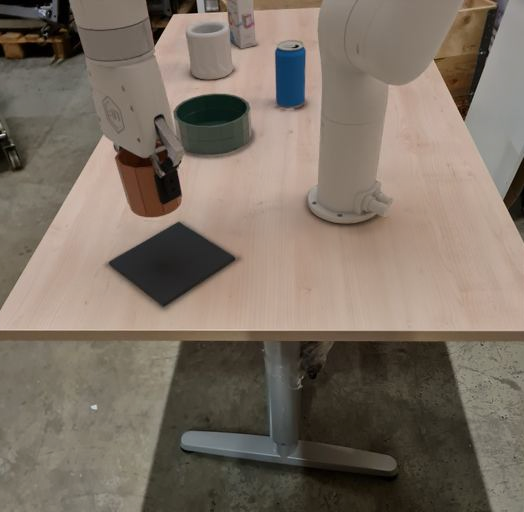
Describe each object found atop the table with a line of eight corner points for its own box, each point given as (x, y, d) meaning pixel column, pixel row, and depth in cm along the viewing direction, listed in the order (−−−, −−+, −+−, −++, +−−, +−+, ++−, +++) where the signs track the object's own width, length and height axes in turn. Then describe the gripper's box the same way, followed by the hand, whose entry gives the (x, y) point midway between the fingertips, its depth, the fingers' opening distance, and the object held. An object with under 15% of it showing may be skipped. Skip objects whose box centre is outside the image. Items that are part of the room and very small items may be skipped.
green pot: (266, 136, 100) (265, 106, 95) (211, 165, 93) (207, 135, 88) (218, 115, 107) (214, 87, 102) (164, 141, 100) (158, 112, 96)
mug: (239, 75, 121) (235, 29, 114) (198, 83, 119) (192, 37, 111) (222, 57, 130) (217, 14, 122) (183, 65, 127) (176, 21, 120)
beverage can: (302, 111, 106) (303, 50, 97) (273, 109, 107) (272, 49, 98) (306, 98, 110) (307, 39, 101) (279, 97, 112) (277, 38, 102)
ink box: (228, 40, 138) (224, -10, 129) (244, 36, 139) (241, -13, 130) (240, 49, 133) (236, -3, 124) (256, 45, 134) (254, -6, 125)
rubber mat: (235, 259, 74) (235, 256, 74) (163, 307, 68) (162, 304, 68) (179, 224, 81) (178, 221, 81) (109, 264, 75) (108, 261, 75)
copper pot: (193, 200, 66) (184, 152, 61) (149, 224, 63) (136, 175, 58) (161, 182, 70) (151, 134, 64) (118, 204, 66) (103, 156, 61)
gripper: (46, 32, 54) (94, 177, 67) (135, 69, 46) (170, 226, 59) (102, 15, 57) (138, 157, 71) (196, 46, 49) (216, 200, 62)
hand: (152, 187), depth 65 cm, fingers closed on copper pot, 7 cm apart
